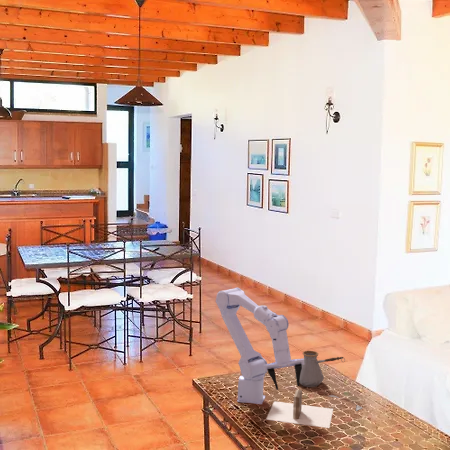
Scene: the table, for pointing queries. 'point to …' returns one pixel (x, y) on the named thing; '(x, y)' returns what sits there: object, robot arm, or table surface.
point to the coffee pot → (312, 369)
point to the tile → (297, 404)
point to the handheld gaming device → (356, 405)
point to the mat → (307, 416)
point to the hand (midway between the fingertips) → (287, 387)
